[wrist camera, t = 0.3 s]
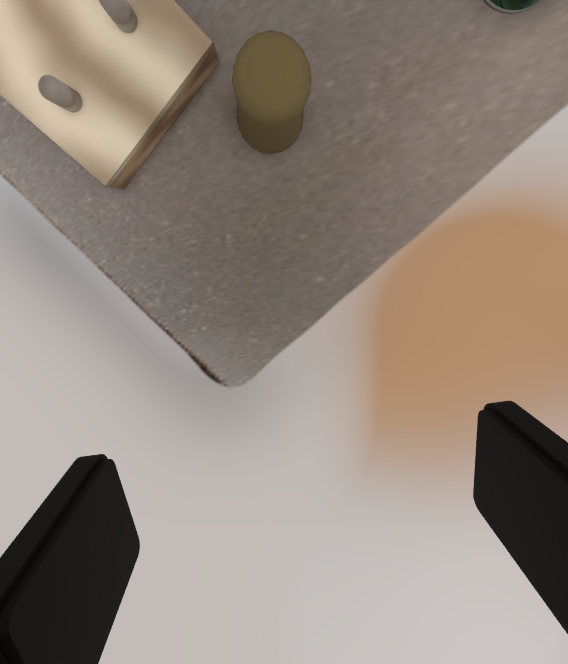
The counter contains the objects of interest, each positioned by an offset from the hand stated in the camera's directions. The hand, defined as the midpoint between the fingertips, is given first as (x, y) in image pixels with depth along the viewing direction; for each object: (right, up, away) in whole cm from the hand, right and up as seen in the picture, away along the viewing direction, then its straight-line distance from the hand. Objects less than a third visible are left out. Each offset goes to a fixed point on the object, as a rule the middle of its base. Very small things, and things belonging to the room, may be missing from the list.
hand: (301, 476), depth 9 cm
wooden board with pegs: (-17, +28, +21) cm, 39 cm away
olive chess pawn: (-2, +23, +24) cm, 33 cm away
